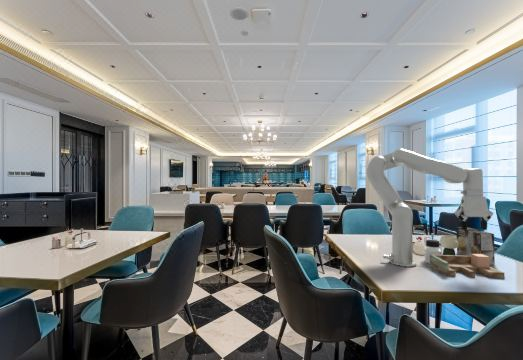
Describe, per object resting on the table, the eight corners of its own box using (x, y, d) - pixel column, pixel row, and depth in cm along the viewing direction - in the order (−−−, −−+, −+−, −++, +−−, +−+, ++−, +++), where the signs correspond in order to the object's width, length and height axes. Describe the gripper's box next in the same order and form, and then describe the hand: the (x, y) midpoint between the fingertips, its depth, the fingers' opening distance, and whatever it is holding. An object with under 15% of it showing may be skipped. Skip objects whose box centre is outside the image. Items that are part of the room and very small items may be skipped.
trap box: (446, 275, 117) (445, 262, 117) (430, 266, 131) (429, 254, 131) (504, 278, 114) (504, 264, 114) (481, 268, 128) (481, 256, 128)
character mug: (463, 261, 138) (463, 237, 138) (452, 262, 137) (452, 238, 137) (446, 256, 149) (445, 234, 149) (435, 257, 148) (435, 234, 148)
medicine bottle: (441, 265, 133) (441, 242, 133) (425, 263, 136) (424, 240, 137) (440, 261, 139) (440, 239, 139) (424, 259, 142) (424, 238, 143)
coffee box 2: (495, 265, 133) (494, 233, 133) (481, 264, 134) (480, 233, 134) (484, 259, 142) (483, 230, 142) (470, 259, 143) (470, 230, 143)
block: (478, 267, 122) (478, 256, 122) (471, 263, 127) (470, 253, 127) (489, 267, 121) (489, 256, 121) (482, 264, 126) (481, 254, 126)
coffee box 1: (456, 253, 156) (455, 226, 157) (466, 253, 156) (466, 226, 157) (468, 257, 147) (467, 229, 147) (479, 257, 147) (478, 229, 147)
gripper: (458, 193, 122) (459, 230, 122) (498, 193, 120) (499, 230, 120) (449, 193, 130) (450, 227, 129) (486, 193, 127) (487, 228, 127)
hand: (474, 229), depth 124 cm, fingers open, 8 cm apart
